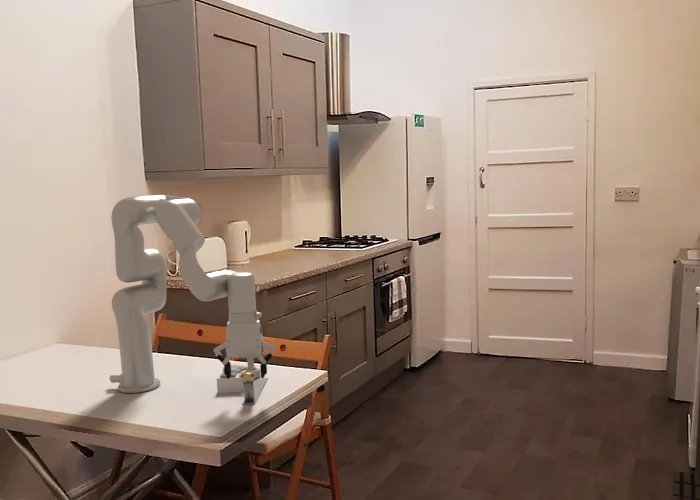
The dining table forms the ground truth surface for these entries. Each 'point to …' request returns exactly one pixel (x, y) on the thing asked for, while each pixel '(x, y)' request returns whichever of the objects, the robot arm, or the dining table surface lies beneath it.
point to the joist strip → (257, 389)
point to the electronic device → (246, 368)
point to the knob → (248, 386)
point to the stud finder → (230, 383)
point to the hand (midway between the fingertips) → (246, 377)
